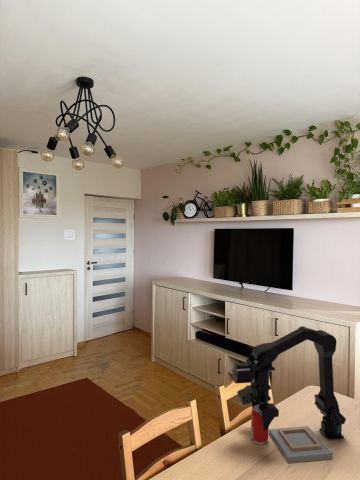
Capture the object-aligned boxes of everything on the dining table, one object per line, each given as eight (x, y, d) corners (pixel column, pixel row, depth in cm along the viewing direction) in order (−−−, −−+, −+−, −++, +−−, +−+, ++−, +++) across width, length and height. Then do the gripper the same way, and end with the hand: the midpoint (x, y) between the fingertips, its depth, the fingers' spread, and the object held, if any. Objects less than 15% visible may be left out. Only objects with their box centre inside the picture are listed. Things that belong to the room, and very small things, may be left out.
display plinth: (308, 431, 133) (308, 423, 133) (332, 458, 117) (332, 449, 117) (268, 434, 131) (269, 426, 131) (288, 462, 115) (288, 453, 115)
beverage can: (268, 446, 123) (269, 413, 123) (250, 444, 125) (251, 411, 124) (267, 436, 130) (268, 405, 129) (250, 433, 131) (251, 403, 130)
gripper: (232, 371, 134) (231, 410, 135) (249, 395, 116) (247, 440, 116) (259, 370, 136) (258, 409, 137) (280, 393, 118) (278, 437, 118)
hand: (259, 422), depth 127 cm, fingers open, 9 cm apart
